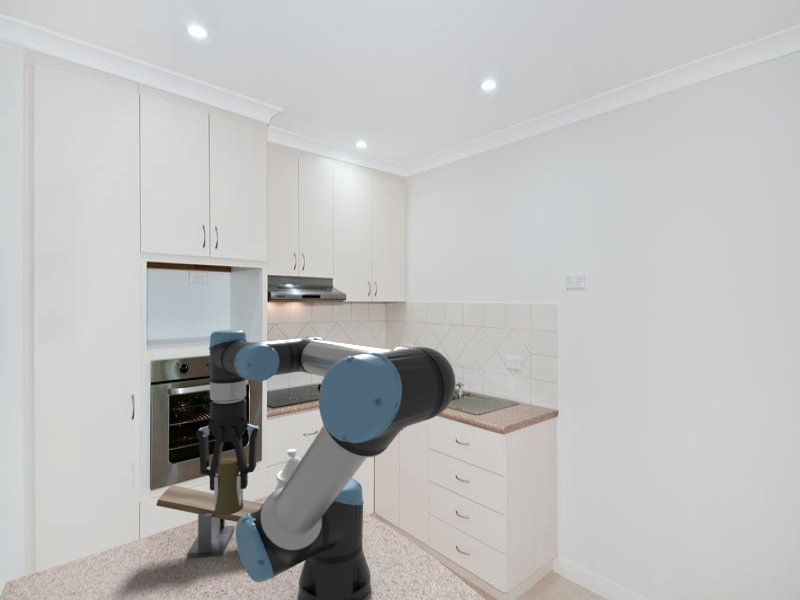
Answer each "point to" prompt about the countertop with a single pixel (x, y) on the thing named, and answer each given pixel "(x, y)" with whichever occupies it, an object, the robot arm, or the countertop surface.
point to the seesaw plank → (200, 503)
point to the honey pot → (287, 469)
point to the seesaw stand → (210, 537)
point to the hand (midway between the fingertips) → (229, 503)
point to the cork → (227, 487)
